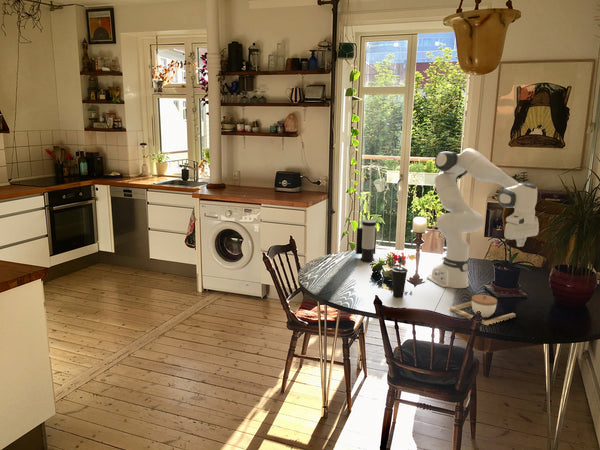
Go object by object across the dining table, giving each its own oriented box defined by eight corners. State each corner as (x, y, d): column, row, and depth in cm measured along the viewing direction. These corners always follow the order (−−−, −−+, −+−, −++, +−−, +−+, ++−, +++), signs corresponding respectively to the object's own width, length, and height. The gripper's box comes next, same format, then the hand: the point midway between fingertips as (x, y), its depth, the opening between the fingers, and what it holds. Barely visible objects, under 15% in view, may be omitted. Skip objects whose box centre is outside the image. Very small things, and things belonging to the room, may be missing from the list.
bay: (449, 309, 226) (449, 306, 226) (478, 302, 236) (479, 299, 236) (485, 326, 210) (485, 322, 209) (515, 317, 220) (515, 313, 219)
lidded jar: (467, 316, 220) (469, 296, 218) (473, 308, 229) (475, 289, 227) (492, 321, 214) (494, 301, 212) (497, 313, 223) (499, 294, 221)
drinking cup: (387, 294, 245) (389, 255, 240) (400, 292, 247) (403, 254, 243) (395, 299, 238) (397, 260, 233) (408, 297, 240) (411, 258, 236)
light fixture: (358, 262, 296) (360, 222, 291) (355, 257, 307) (357, 218, 301) (378, 262, 297) (380, 222, 292) (374, 257, 308) (376, 218, 302)
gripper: (532, 214, 236) (528, 242, 239) (503, 218, 226) (500, 247, 229) (544, 217, 231) (540, 245, 234) (515, 221, 221) (511, 250, 224)
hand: (520, 246), depth 231 cm, fingers closed
